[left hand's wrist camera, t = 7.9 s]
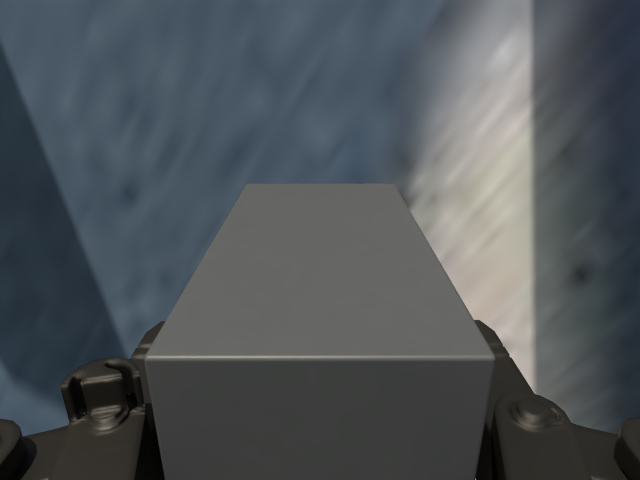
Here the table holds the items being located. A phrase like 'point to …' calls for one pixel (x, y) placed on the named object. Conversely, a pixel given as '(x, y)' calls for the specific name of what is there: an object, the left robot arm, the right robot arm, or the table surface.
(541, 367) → the table surface
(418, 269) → the bar
